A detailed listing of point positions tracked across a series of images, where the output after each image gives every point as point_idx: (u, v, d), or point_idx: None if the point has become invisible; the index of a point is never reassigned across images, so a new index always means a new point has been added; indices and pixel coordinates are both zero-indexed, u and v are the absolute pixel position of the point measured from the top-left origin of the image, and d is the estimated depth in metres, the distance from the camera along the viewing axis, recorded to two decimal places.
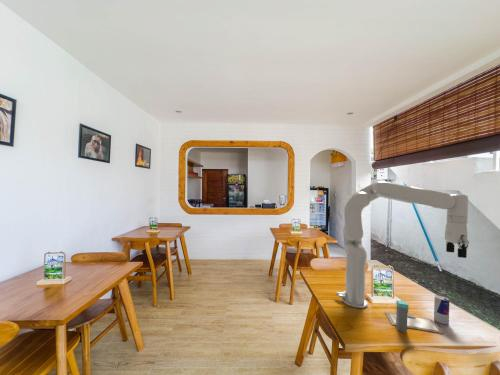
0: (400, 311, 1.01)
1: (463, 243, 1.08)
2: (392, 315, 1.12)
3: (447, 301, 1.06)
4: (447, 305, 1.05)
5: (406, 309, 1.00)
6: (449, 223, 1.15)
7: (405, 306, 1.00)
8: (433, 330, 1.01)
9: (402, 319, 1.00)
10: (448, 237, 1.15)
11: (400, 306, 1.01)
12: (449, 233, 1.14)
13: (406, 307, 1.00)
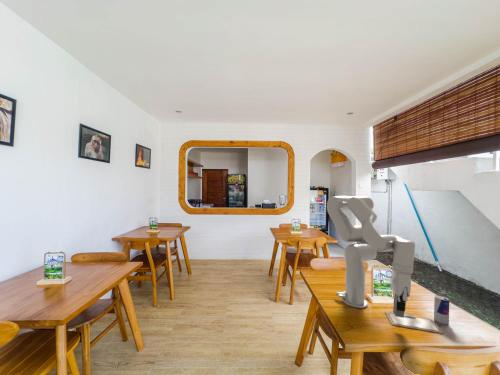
0: None
1: None
2: (392, 315, 1.12)
3: (447, 301, 1.06)
4: (447, 305, 1.05)
5: None
6: (394, 270, 1.04)
7: None
8: (433, 330, 1.01)
9: None
10: (393, 285, 1.04)
11: None
12: (393, 281, 1.03)
13: None
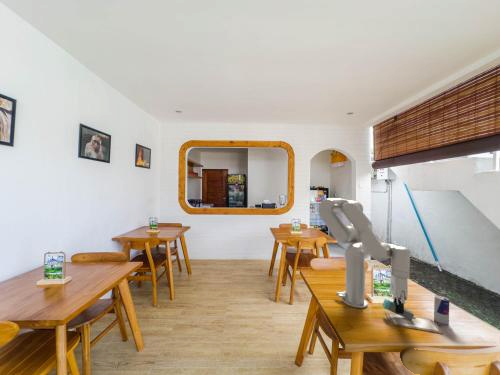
0: (392, 310, 1.10)
1: None
2: (392, 315, 1.12)
3: (447, 301, 1.06)
4: (447, 305, 1.05)
5: (391, 305, 1.11)
6: (392, 276, 1.12)
7: (388, 304, 1.11)
8: (433, 330, 1.01)
9: None
10: (391, 290, 1.13)
11: (386, 307, 1.11)
12: (392, 286, 1.12)
13: (389, 304, 1.11)
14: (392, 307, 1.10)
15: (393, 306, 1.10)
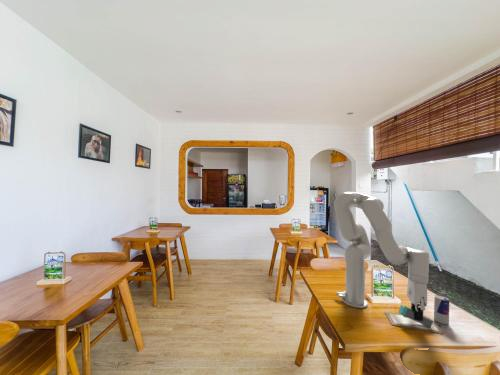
0: (409, 317, 1.05)
1: None
2: (392, 315, 1.12)
3: (447, 301, 1.06)
4: (447, 305, 1.05)
5: (408, 310, 1.05)
6: None
7: (404, 310, 1.06)
8: (433, 330, 1.01)
9: None
10: (409, 295, 1.07)
11: (403, 314, 1.06)
12: (410, 291, 1.07)
13: (406, 310, 1.05)
14: (409, 313, 1.05)
15: (410, 312, 1.05)
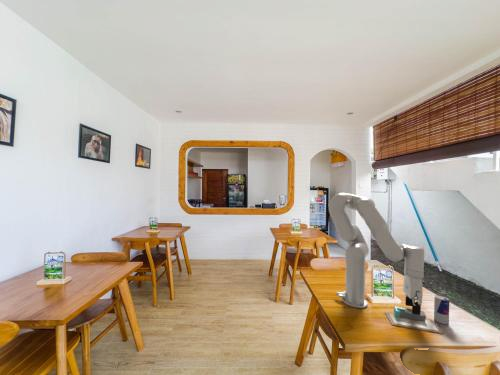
0: (403, 317, 1.10)
1: None
2: (392, 315, 1.12)
3: (447, 301, 1.06)
4: (447, 305, 1.05)
5: (401, 312, 1.10)
6: None
7: (398, 312, 1.10)
8: (433, 330, 1.01)
9: (412, 316, 1.09)
10: (405, 290, 1.12)
11: (398, 316, 1.11)
12: (406, 286, 1.11)
13: (399, 312, 1.10)
14: (403, 314, 1.10)
15: (403, 313, 1.10)
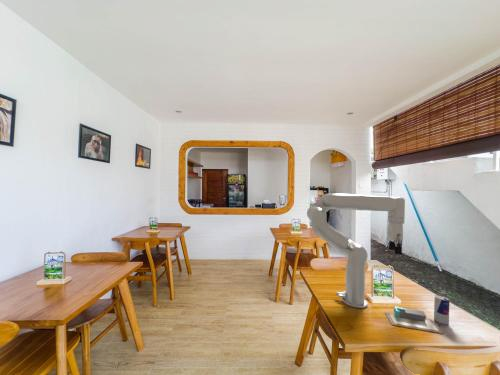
0: (403, 317, 1.10)
1: None
2: (392, 315, 1.12)
3: (447, 301, 1.06)
4: (447, 305, 1.05)
5: (401, 312, 1.10)
6: (389, 223, 1.26)
7: (398, 312, 1.10)
8: (433, 330, 1.01)
9: (412, 316, 1.09)
10: (389, 236, 1.27)
11: (398, 316, 1.11)
12: (389, 232, 1.26)
13: (399, 312, 1.10)
14: (403, 314, 1.10)
15: (403, 313, 1.10)
